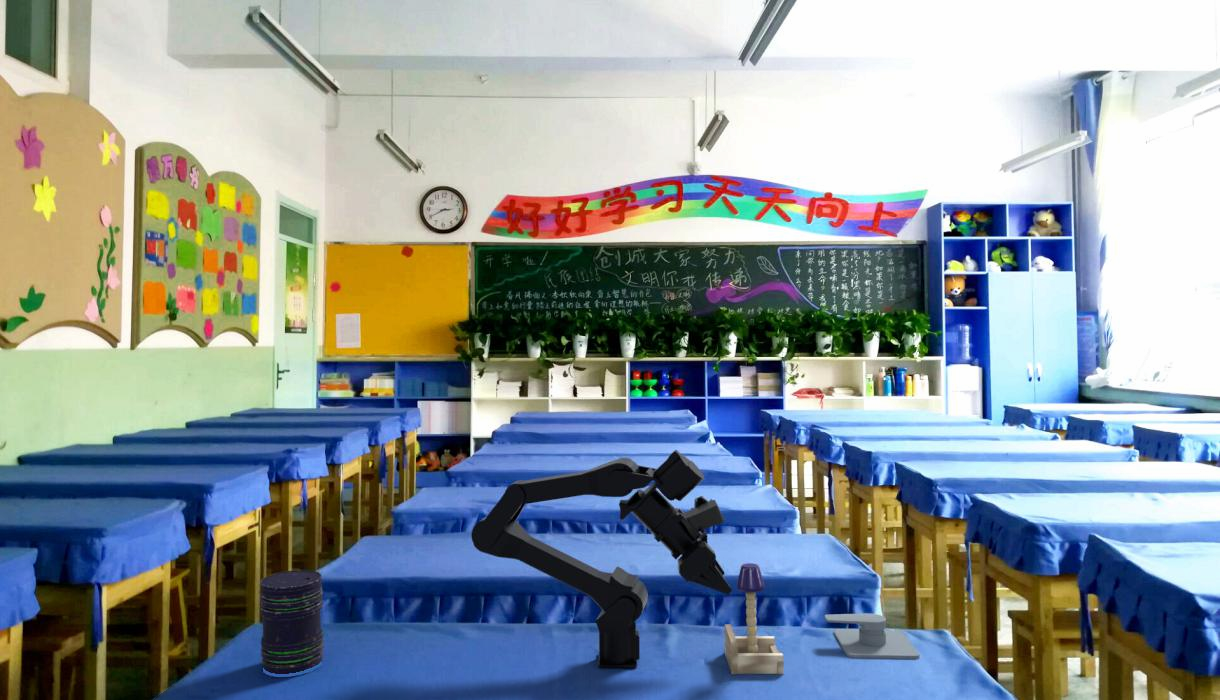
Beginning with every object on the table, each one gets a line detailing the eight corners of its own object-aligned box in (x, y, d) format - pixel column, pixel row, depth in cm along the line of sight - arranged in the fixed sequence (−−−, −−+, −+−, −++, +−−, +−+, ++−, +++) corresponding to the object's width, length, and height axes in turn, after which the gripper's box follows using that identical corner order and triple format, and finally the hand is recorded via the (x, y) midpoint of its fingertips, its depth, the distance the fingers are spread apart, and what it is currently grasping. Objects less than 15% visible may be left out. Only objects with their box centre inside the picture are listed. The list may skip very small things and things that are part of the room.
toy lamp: (732, 663, 141) (731, 565, 141) (747, 655, 145) (746, 559, 145) (756, 670, 138) (755, 570, 138) (771, 662, 142) (770, 564, 141)
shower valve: (818, 604, 156) (900, 605, 155) (818, 633, 156) (900, 634, 155) (832, 628, 144) (921, 629, 143) (832, 660, 144) (921, 661, 143)
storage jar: (250, 678, 137) (248, 587, 136) (276, 654, 146) (274, 569, 146) (310, 678, 136) (309, 587, 136) (332, 654, 146) (331, 570, 146)
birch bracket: (731, 674, 137) (731, 644, 137) (724, 652, 146) (724, 624, 146) (783, 674, 137) (783, 644, 137) (773, 652, 146) (773, 624, 146)
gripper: (701, 496, 131) (770, 566, 132) (690, 475, 150) (751, 536, 150) (650, 546, 132) (720, 615, 132) (646, 518, 150) (707, 579, 151)
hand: (726, 583), depth 141 cm, fingers open, 9 cm apart
